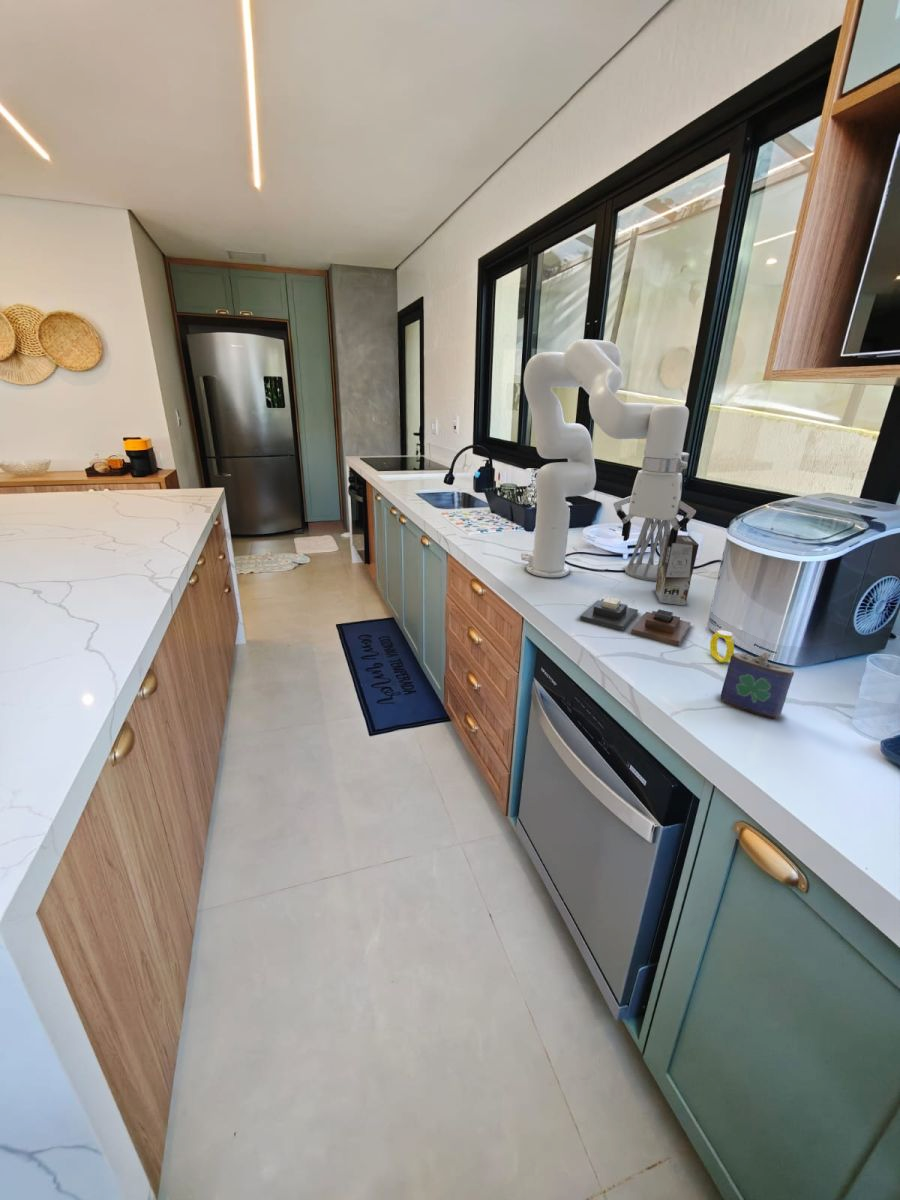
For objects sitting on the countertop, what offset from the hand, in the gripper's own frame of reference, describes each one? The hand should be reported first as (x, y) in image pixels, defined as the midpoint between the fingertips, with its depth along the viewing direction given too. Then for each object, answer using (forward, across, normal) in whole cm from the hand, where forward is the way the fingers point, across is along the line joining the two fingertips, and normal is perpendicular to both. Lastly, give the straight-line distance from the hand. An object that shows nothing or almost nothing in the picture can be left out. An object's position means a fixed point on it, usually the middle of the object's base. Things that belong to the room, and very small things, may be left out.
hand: (647, 542), depth 115 cm
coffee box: (+18, -6, -17) cm, 25 cm away
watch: (+19, -19, +14) cm, 30 cm away
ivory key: (+16, +5, +5) cm, 17 cm away
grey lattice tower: (+18, +3, -34) cm, 39 cm away
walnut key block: (+18, -7, +6) cm, 20 cm away
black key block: (+18, +5, +4) cm, 19 cm away
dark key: (+16, -7, +6) cm, 18 cm away
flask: (+19, -24, +30) cm, 43 cm away
